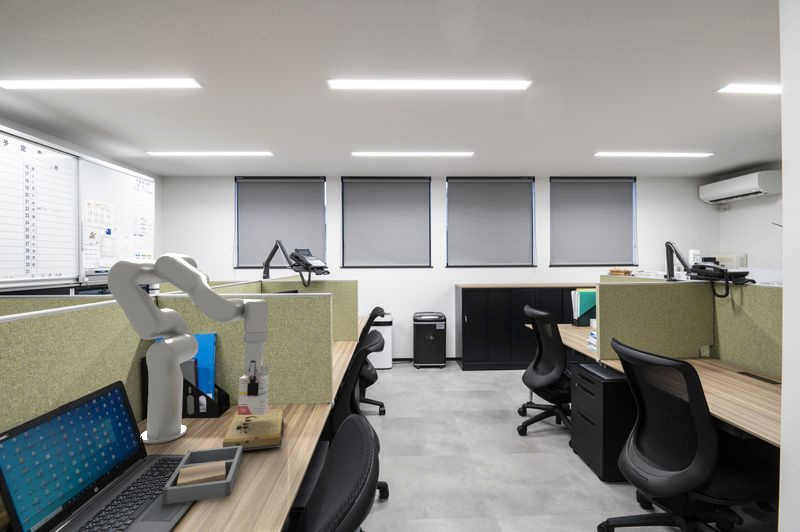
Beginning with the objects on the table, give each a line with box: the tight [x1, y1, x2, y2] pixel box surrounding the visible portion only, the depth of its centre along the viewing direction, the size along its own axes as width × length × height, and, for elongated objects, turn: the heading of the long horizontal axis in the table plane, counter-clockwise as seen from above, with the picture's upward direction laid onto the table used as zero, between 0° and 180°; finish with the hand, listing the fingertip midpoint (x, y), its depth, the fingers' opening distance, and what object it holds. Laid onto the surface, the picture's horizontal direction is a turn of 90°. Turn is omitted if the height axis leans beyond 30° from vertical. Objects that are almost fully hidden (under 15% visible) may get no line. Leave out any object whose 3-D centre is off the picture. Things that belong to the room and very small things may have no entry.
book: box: [222, 406, 284, 452], centre depth 116 cm, size 25×17×6 cm
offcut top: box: [177, 460, 226, 486], centre depth 88 cm, size 7×10×2 cm
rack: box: [161, 445, 243, 506], centre depth 92 cm, size 19×14×4 cm
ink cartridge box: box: [237, 365, 270, 415], centre depth 117 cm, size 9×5×15 cm, turn 95°
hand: (253, 391), depth 117 cm, fingers closed on ink cartridge box, 5 cm apart
